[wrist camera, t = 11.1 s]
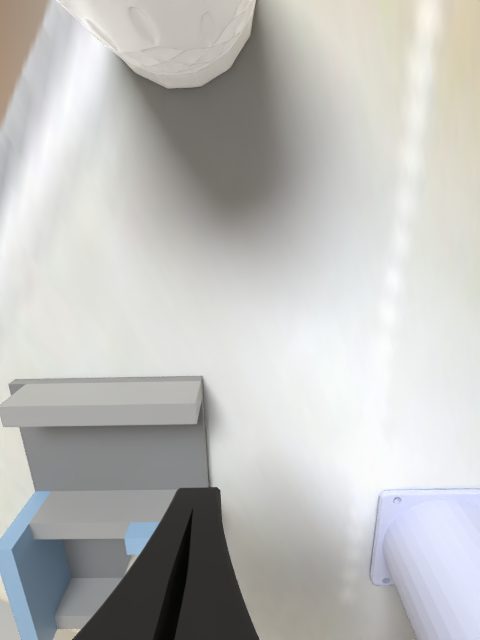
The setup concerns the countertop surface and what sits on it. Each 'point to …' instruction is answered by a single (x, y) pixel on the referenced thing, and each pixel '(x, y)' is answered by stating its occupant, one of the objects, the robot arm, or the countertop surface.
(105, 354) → the countertop surface
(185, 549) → the robot arm
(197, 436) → the grey and blue rack
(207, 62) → the white cup
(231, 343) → the countertop surface
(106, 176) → the countertop surface
